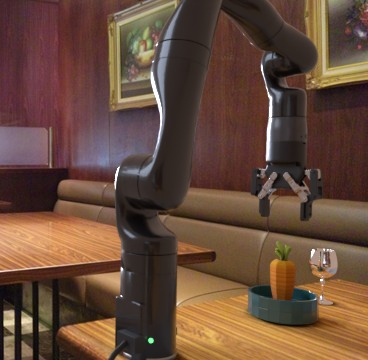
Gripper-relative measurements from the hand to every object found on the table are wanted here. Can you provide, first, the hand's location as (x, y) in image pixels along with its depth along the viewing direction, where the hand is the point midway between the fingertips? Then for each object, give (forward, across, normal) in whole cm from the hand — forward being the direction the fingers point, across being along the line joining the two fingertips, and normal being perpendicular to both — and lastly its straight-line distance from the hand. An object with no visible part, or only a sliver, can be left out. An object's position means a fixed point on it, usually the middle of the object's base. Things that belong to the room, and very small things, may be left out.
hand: (284, 218), depth 102 cm
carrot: (+20, 0, 0) cm, 20 cm away
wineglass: (+20, -1, +18) cm, 27 cm away
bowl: (+20, 0, 0) cm, 20 cm away
